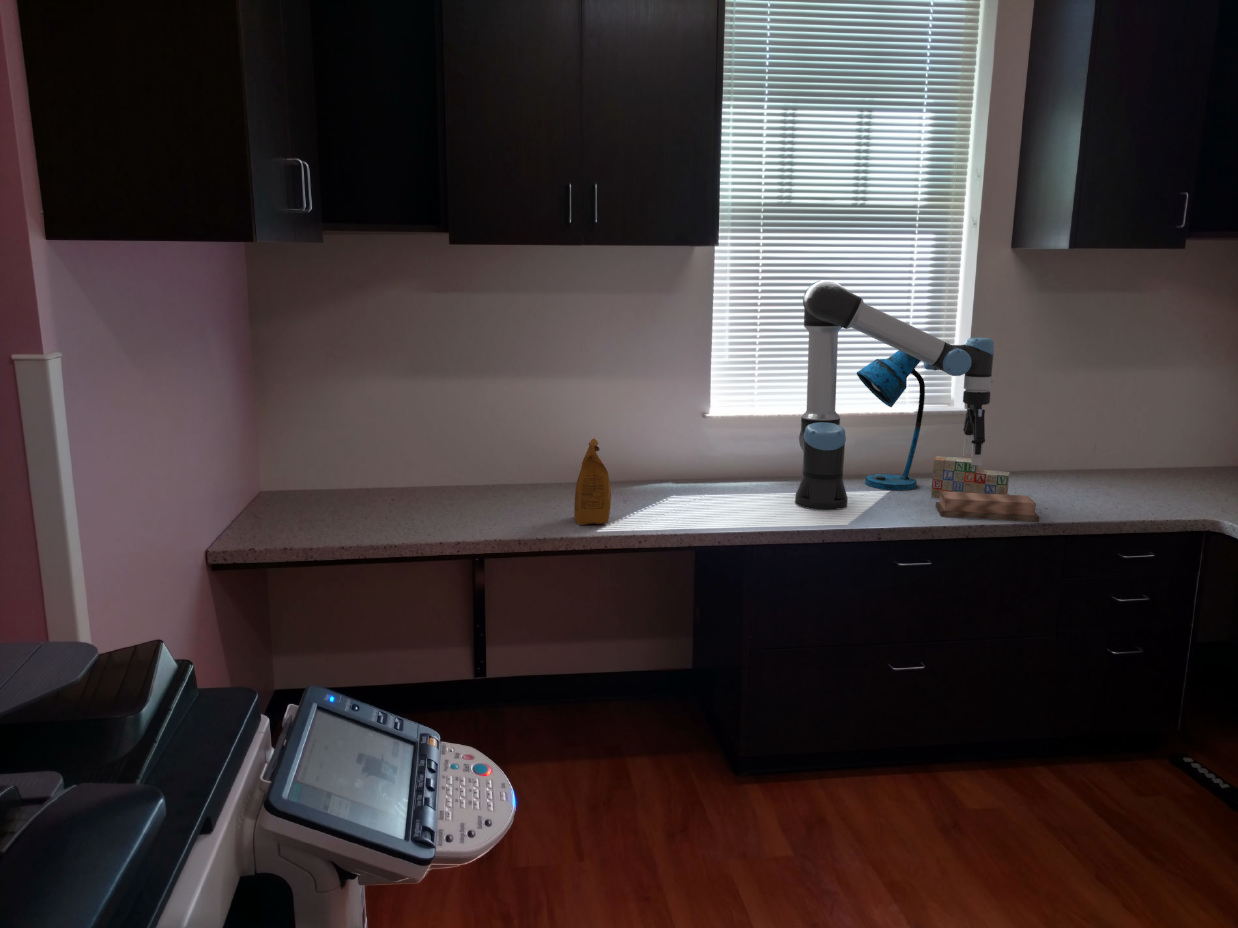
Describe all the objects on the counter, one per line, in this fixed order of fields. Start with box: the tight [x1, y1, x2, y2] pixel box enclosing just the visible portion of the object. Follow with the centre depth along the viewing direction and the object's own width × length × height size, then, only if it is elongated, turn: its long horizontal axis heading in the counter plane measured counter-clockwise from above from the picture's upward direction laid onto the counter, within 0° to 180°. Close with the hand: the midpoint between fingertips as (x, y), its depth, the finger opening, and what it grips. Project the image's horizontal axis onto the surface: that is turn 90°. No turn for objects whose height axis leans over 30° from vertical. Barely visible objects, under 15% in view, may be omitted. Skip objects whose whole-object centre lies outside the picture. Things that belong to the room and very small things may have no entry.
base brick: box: [934, 491, 1040, 523], centre depth 266 cm, size 26×11×5 cm, turn 80°
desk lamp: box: [856, 349, 926, 491], centre depth 297 cm, size 16×22×45 cm
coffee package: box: [573, 437, 612, 526], centre depth 252 cm, size 10×12×22 cm
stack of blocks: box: [930, 455, 1010, 500], centre depth 282 cm, size 21×6×12 cm, turn 63°
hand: (971, 460), depth 281 cm, fingers open, 13 cm apart
